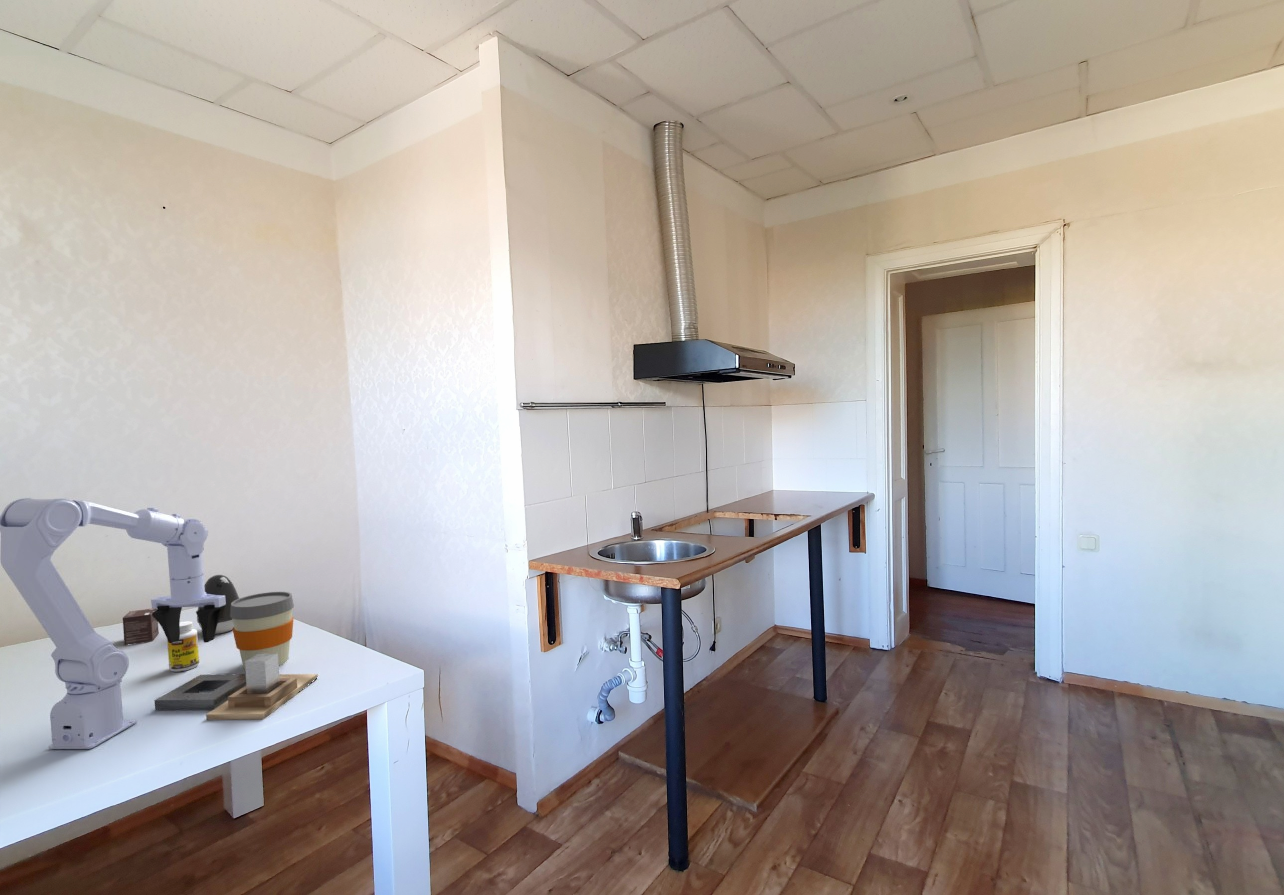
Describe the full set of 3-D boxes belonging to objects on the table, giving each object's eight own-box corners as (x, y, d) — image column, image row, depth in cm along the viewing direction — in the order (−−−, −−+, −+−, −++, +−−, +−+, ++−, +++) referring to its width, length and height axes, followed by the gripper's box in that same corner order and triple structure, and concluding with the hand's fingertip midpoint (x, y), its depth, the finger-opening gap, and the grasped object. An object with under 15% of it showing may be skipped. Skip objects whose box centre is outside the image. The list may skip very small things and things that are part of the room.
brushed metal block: (267, 701, 122) (264, 661, 122) (247, 701, 122) (244, 661, 122) (280, 692, 126) (277, 653, 126) (261, 692, 126) (258, 653, 126)
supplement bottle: (168, 674, 140) (165, 629, 140) (170, 666, 145) (167, 623, 144) (199, 668, 143) (195, 624, 143) (200, 661, 148) (196, 618, 147)
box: (131, 638, 166) (129, 611, 165) (159, 634, 168) (157, 607, 168) (123, 645, 160) (121, 617, 160) (153, 641, 163) (150, 613, 162)
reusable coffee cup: (308, 658, 147) (304, 594, 146) (252, 678, 136) (248, 610, 136) (278, 649, 154) (274, 588, 153) (222, 668, 143) (218, 603, 142)
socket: (214, 709, 122) (213, 699, 122) (155, 710, 122) (154, 700, 122) (255, 683, 134) (254, 673, 134) (201, 683, 134) (200, 674, 134)
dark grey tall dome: (201, 640, 162) (197, 582, 161) (195, 631, 170) (191, 575, 169) (247, 630, 169) (243, 574, 168) (239, 621, 177) (235, 568, 176)
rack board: (263, 719, 117) (262, 703, 117) (206, 719, 118) (205, 703, 118) (317, 678, 135) (317, 664, 135) (268, 679, 136) (267, 665, 136)
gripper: (234, 570, 134) (238, 633, 134) (168, 572, 134) (173, 634, 135) (209, 579, 127) (214, 645, 127) (140, 581, 127) (145, 646, 128)
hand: (191, 641), depth 131 cm, fingers open, 7 cm apart
